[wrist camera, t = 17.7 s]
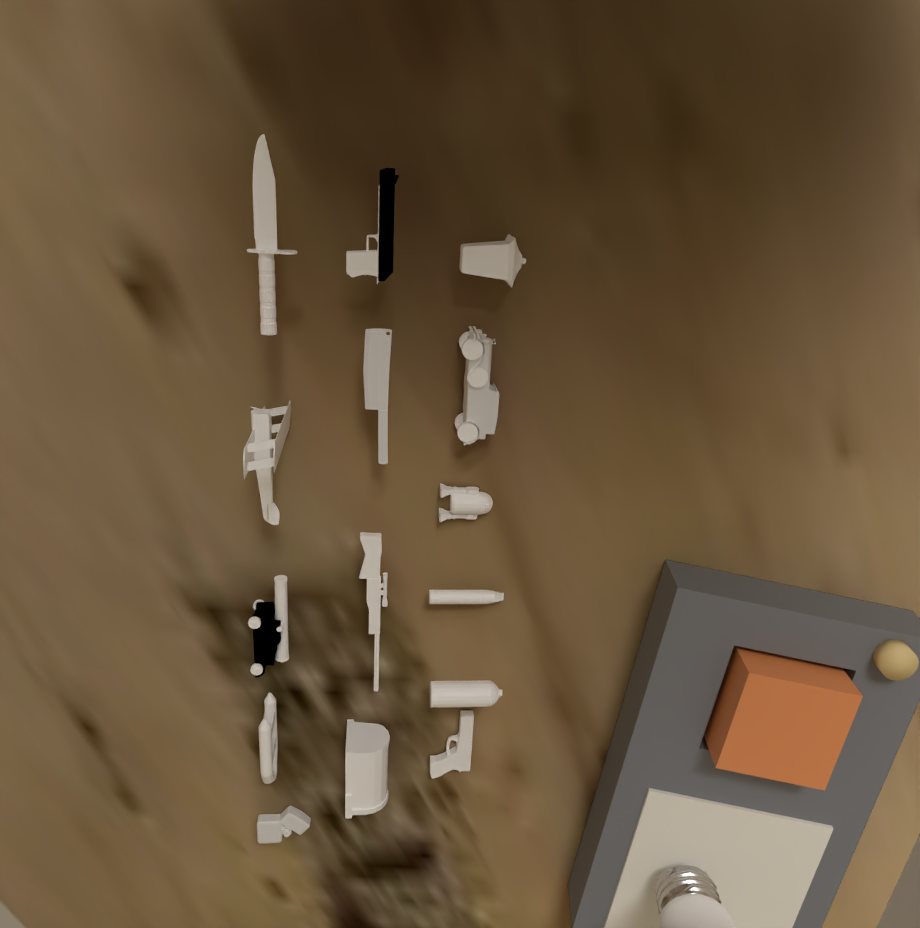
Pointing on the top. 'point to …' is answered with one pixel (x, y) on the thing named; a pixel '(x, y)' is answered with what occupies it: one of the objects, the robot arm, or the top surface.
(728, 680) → the button
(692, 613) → the breaker board
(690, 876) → the light bulb
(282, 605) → the miniature set
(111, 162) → the top surface
